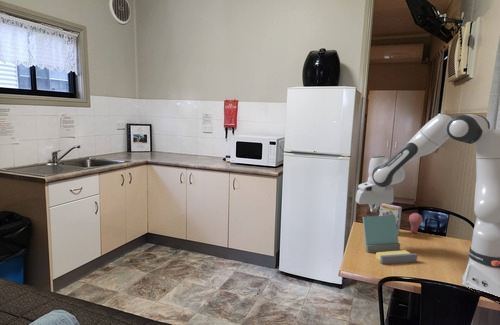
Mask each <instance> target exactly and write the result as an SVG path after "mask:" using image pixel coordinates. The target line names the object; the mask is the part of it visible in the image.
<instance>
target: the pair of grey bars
mask: <svg viewBox="0 0 500 325" xmlns="http://www.w3.org/2000/svg"><path fill="white" fill-rule="evenodd" d="M365 246H366V247H365V251H366V253H376V252H388V251H401V250H400V249H401V243H400V242H398V243H386V244H370V245H365ZM417 259H418V254H417V253H415V252H414V253H413V252H411V254H397V255H383V256H381V258H380V260H379V263H380V264H381V265H388V264H389V265H390V264H400V263H401V264H403V263H404V264H405V263H414V262H415V263H416V262H417V261H418V260H417Z"/></svg>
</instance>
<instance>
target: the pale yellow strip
mask: <svg viewBox="0 0 500 325" xmlns="http://www.w3.org/2000/svg"><path fill="white" fill-rule="evenodd" d="M397 254H412V252H409V251H407V250H406V249H403V250H402V249H401V250H397V251H383V252H375V258H376V259H377V260H378V261H380V258H381V256H383V255H397Z"/></svg>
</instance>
